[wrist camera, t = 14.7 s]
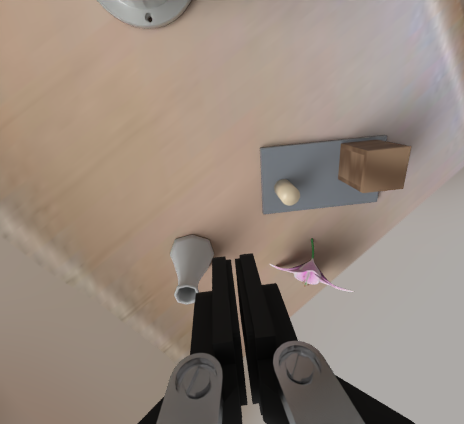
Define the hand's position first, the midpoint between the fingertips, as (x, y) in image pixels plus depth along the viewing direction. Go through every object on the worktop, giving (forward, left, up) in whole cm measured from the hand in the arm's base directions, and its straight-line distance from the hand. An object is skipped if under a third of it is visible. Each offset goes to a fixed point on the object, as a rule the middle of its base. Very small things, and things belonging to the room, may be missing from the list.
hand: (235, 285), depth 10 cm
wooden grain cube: (+2, +20, -26) cm, 33 cm away
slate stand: (+4, +15, -27) cm, 31 cm away
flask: (+15, -6, -27) cm, 32 cm away
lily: (+19, +12, -27) cm, 35 cm away
